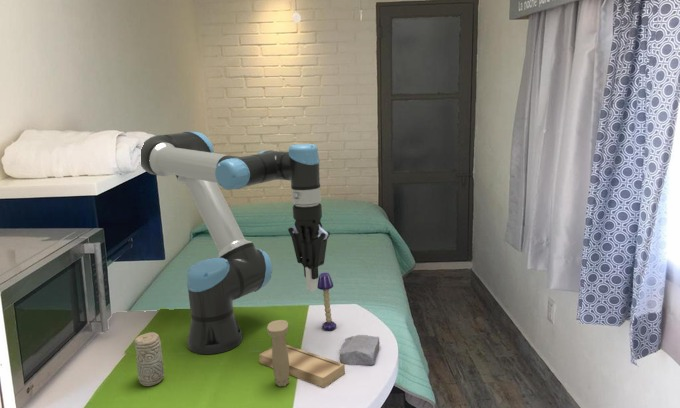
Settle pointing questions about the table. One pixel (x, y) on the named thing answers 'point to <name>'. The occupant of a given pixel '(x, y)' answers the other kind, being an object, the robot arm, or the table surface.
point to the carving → (149, 359)
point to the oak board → (308, 366)
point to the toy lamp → (326, 299)
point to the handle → (279, 351)
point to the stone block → (359, 350)
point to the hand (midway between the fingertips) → (312, 289)
